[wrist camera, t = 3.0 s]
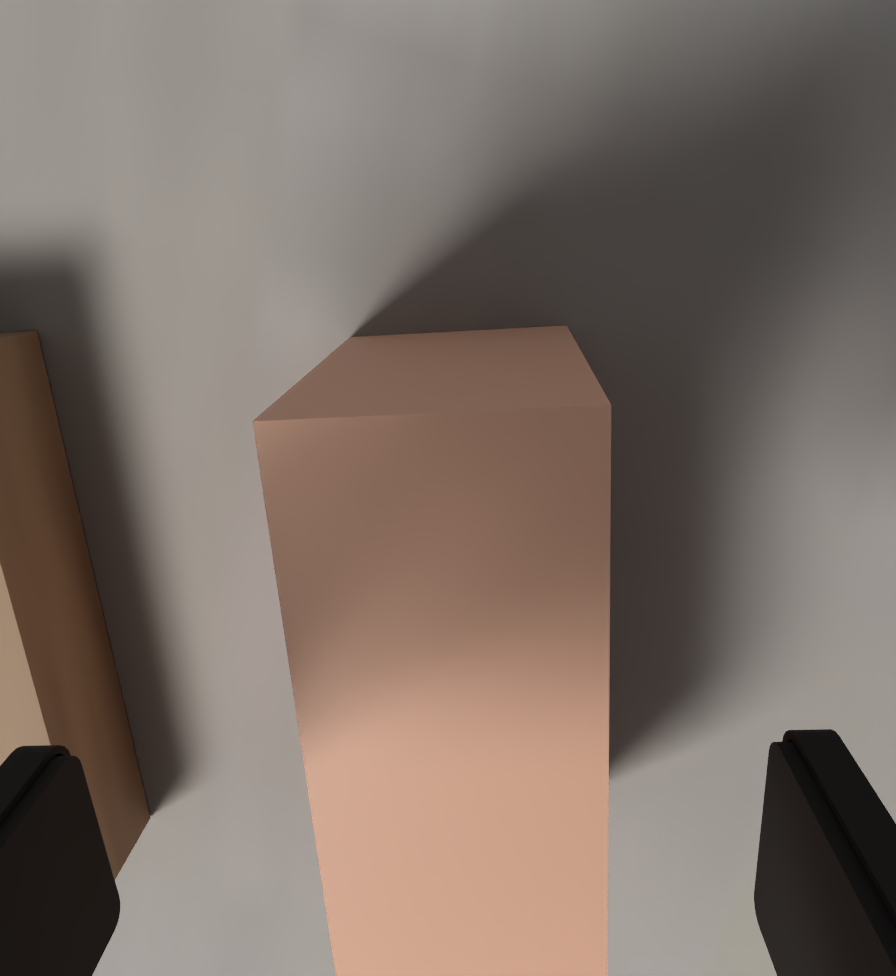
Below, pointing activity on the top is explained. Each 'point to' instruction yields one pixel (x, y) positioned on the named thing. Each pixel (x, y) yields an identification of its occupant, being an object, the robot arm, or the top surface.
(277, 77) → the top surface
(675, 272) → the top surface
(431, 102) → the top surface
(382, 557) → the terracotta block
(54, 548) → the walnut stand
